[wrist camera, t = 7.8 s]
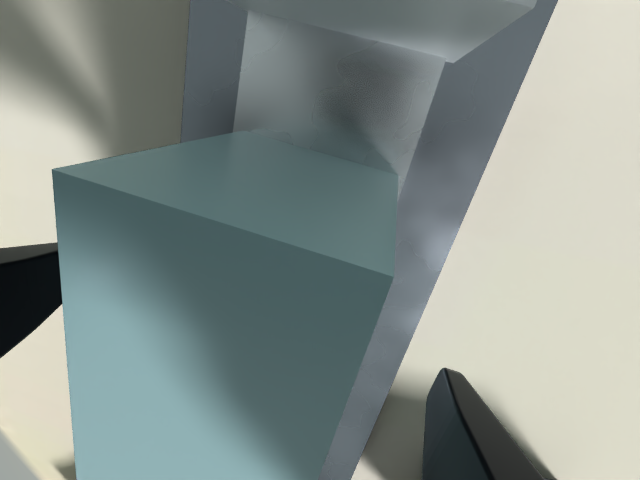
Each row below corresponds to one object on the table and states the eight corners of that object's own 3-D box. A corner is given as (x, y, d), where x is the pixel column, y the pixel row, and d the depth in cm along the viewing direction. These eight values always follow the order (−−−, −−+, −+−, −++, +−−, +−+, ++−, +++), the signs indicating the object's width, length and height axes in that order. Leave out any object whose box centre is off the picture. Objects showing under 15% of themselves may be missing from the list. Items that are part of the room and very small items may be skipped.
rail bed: (666, -279, 7) (731, -372, 5) (334, 505, 17) (329, 539, 16) (233, -337, 8) (197, -431, 6) (168, 440, 18) (149, 468, 17)
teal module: (398, 174, 10) (393, 276, 4) (334, 366, 12) (280, 578, 7) (242, 130, 10) (51, 169, 5) (215, 325, 13) (77, 494, 7)
